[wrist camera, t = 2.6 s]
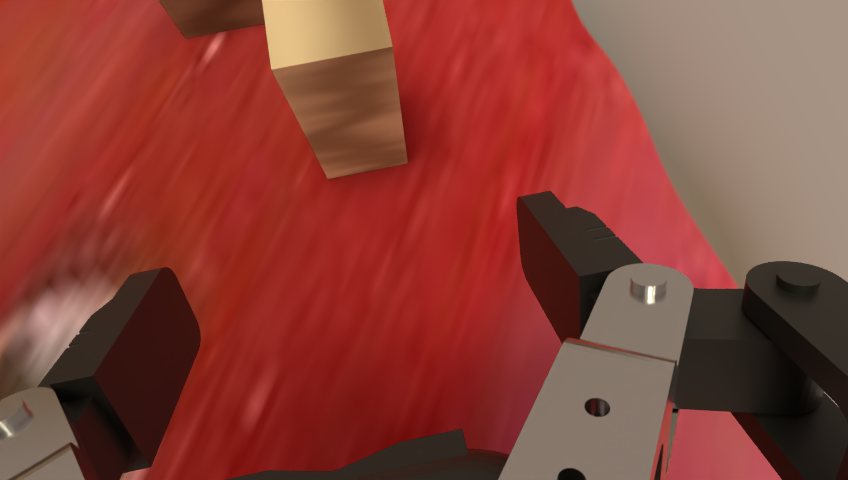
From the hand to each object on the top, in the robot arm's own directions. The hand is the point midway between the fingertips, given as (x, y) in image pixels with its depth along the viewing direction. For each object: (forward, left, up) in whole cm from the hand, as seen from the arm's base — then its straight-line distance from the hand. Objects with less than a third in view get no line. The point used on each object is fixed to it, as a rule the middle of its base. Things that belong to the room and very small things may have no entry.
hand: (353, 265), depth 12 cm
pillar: (-2, +11, -14) cm, 18 cm away
